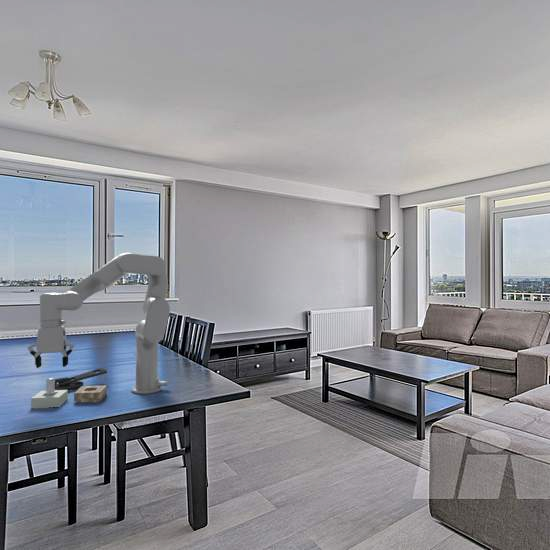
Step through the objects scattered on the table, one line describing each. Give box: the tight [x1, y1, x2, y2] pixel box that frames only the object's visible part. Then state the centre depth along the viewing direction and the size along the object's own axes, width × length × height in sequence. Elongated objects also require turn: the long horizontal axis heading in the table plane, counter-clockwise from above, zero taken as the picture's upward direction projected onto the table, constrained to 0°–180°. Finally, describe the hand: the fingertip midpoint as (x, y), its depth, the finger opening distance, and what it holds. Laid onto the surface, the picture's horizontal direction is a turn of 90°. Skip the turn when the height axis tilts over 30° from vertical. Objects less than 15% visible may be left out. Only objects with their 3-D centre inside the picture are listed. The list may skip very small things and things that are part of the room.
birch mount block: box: [73, 385, 107, 403], centre depth 169 cm, size 10×10×4 cm
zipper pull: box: [55, 367, 108, 392], centre depth 185 cm, size 9×7×25 cm
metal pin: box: [45, 377, 56, 396], centre depth 162 cm, size 3×3×10 cm
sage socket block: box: [30, 390, 69, 409], centre depth 162 cm, size 10×10×4 cm
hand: (52, 366), depth 162 cm, fingers open, 9 cm apart
